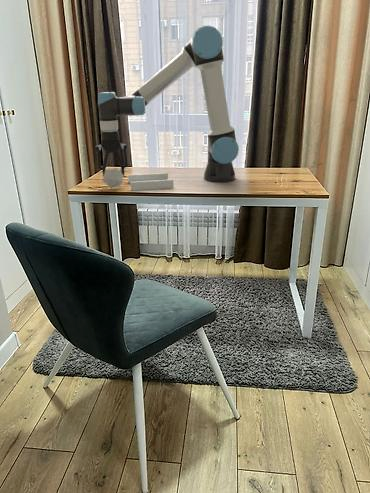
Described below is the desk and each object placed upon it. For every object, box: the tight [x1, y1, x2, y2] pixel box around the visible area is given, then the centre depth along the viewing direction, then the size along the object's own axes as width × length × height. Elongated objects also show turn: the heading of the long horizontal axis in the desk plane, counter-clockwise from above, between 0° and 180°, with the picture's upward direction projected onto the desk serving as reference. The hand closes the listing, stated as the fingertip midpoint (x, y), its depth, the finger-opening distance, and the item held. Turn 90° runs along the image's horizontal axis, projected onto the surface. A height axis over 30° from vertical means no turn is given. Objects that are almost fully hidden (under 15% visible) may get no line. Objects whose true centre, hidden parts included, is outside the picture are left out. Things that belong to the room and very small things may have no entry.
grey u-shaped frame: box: [127, 172, 175, 191], centre depth 184 cm, size 19×15×4 cm
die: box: [102, 167, 125, 189], centre depth 176 cm, size 8×9×10 cm
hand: (114, 183), depth 181 cm, fingers closed on die, 6 cm apart
